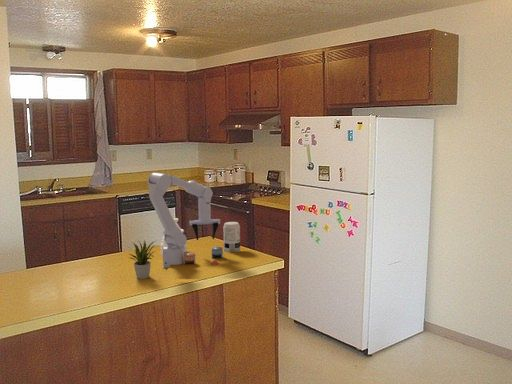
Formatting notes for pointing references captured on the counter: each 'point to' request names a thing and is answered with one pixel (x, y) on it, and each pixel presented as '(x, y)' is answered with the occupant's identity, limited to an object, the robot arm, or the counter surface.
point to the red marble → (214, 262)
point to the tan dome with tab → (189, 258)
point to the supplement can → (231, 237)
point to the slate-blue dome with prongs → (217, 251)
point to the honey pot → (166, 243)
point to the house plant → (142, 260)
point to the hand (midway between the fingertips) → (205, 239)
